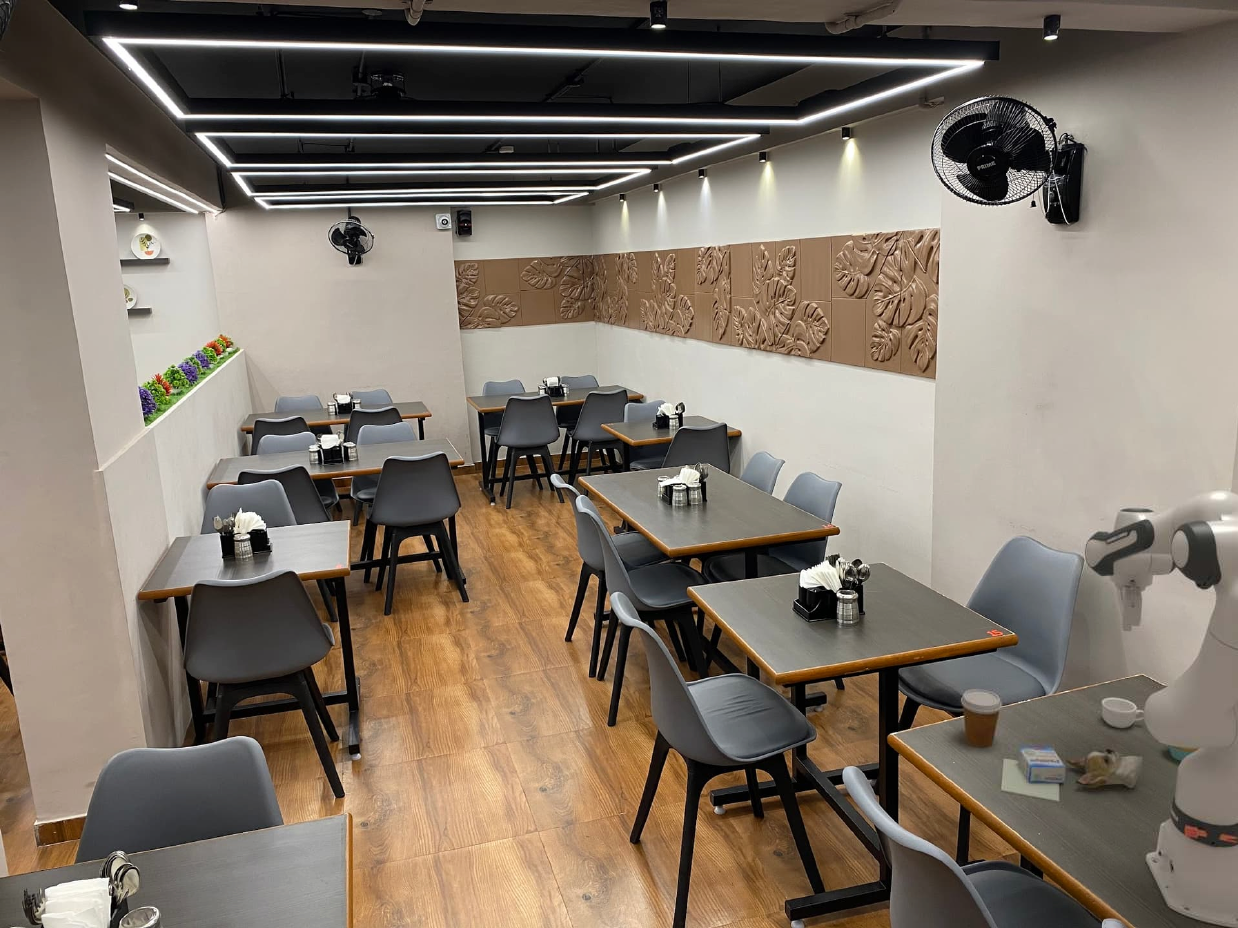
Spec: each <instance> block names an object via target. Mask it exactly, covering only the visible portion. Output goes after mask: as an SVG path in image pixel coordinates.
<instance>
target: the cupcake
mask: <svg viewBox="0 0 1238 928" xmlns="http://www.w3.org/2000/svg"><path fill="white" fill-rule="evenodd" d="M1167 746H1168V748H1169V751H1170V755H1171V757H1172V758H1174V759H1176V760H1177V761H1180V762H1182V760H1183V759H1184V758H1185V757H1187V756H1188V755H1190V754H1191V753H1193V752H1195V751H1197V750H1198V749H1200V748H1184V747H1178V746H1172V745H1167Z"/></svg>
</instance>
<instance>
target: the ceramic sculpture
mask: <svg viewBox="0 0 1238 928" xmlns="http://www.w3.org/2000/svg"><path fill="white" fill-rule="evenodd" d="M1143 760H1144V759H1143V756H1135V755H1127V756H1121V755H1120V754H1119V753H1118V752H1117V751H1115V750H1113V749H1109V748H1106V749H1105V750H1103V751H1102V750H1098V751H1096V750H1095V751H1092V752H1090V753H1089V754H1087V755H1086V756H1085V757H1082V758H1080V759H1076V760H1072V759H1065V762H1066V763H1068V764H1069V765H1071V766H1072V767H1074V769H1075V768H1076V769H1078V770H1080V771H1083V772H1085V774H1083V775H1082V776H1081V777H1080V778H1079V779H1078V780H1075V781H1074V783H1075V784H1076V785H1079V786H1083V787H1086V788H1090V789H1093V788H1098V787H1101V786H1103V785H1104V786H1105V785H1124V786H1126V787H1127V788H1128V789H1132V788H1134V786H1135V784H1136V781H1137V780H1138V778H1139V776H1140V775H1141V772H1142V764H1143Z"/></svg>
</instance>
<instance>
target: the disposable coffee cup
mask: <svg viewBox="0 0 1238 928" xmlns="http://www.w3.org/2000/svg"><path fill="white" fill-rule="evenodd" d="M960 702H961V704H962V709H963V719H964V731H965V740H966V741H967V743H968V744H970V745H971V746H974V747H979V748H988V747H991V746H992V745H993V744H994V739H995V733H996V729H997V724H998V719H999V713H1000V711H1001V708H1002V707H1003V704H1002V703H1003V702H1002V701H1001V698H1000V697H999V695H998V694H996V693H994V692H992V691H989V690H986V689H985V690H984V689H977V688H975V689H969V690H967V691H964V693H963V695H962V697H961V699H960Z"/></svg>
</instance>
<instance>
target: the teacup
mask: <svg viewBox="0 0 1238 928" xmlns="http://www.w3.org/2000/svg"><path fill="white" fill-rule="evenodd" d="M1140 713H1142V714H1143V716H1142V717H1139V718H1138V717H1137V716H1138V715H1139V714H1140ZM1101 715H1102V718H1103V720H1104V721H1105V722H1106V724H1107V725H1109V726H1111V727H1113V728H1117V729H1126V728H1128V727H1130V726H1131V725H1133V724H1134V723H1135V722H1138V721H1142V720H1144V710H1141V709H1138V708H1137V706H1136V704H1135V703H1134V702H1131V701H1130V700H1127V699H1125V698H1120V697H1106V698H1103V699H1102V700H1101Z"/></svg>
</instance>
